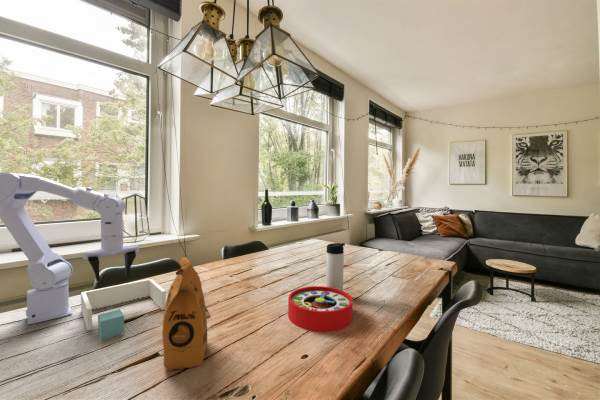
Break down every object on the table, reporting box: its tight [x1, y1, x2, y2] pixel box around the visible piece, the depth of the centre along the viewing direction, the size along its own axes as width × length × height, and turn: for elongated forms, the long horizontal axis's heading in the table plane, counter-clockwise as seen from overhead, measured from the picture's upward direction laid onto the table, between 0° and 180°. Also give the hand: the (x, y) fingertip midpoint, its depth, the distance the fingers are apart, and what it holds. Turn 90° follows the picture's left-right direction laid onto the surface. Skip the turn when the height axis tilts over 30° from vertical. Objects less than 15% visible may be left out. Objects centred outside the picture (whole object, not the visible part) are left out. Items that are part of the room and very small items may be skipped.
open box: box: [80, 278, 167, 332], centre depth 86 cm, size 20×16×6 cm
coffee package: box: [161, 256, 208, 371], centre depth 63 cm, size 10×12×22 cm
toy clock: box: [287, 285, 354, 333], centre depth 85 cm, size 20×6×20 cm
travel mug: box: [325, 242, 346, 291], centre depth 99 cm, size 6×7×20 cm
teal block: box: [97, 309, 125, 341], centre depth 73 cm, size 5×5×5 cm
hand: (112, 277), depth 86 cm, fingers open, 7 cm apart
